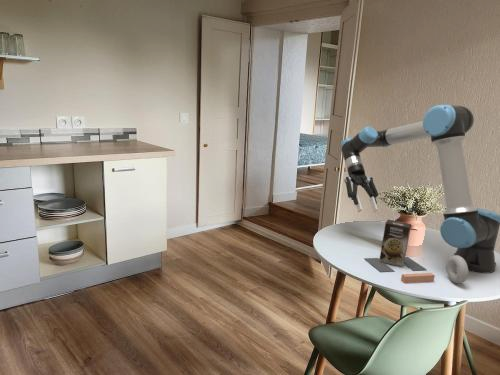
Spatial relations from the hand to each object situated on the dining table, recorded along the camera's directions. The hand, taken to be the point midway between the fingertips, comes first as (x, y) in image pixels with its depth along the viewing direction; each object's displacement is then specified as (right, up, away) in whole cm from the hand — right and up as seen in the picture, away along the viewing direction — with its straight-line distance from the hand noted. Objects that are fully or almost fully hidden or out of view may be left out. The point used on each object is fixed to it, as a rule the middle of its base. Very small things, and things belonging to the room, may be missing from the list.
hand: (367, 210), depth 173 cm
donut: (+22, -24, -32) cm, 45 cm away
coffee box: (+4, -19, -18) cm, 27 cm away
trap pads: (+5, -20, -20) cm, 28 cm away
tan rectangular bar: (+8, -23, -33) cm, 41 cm away
